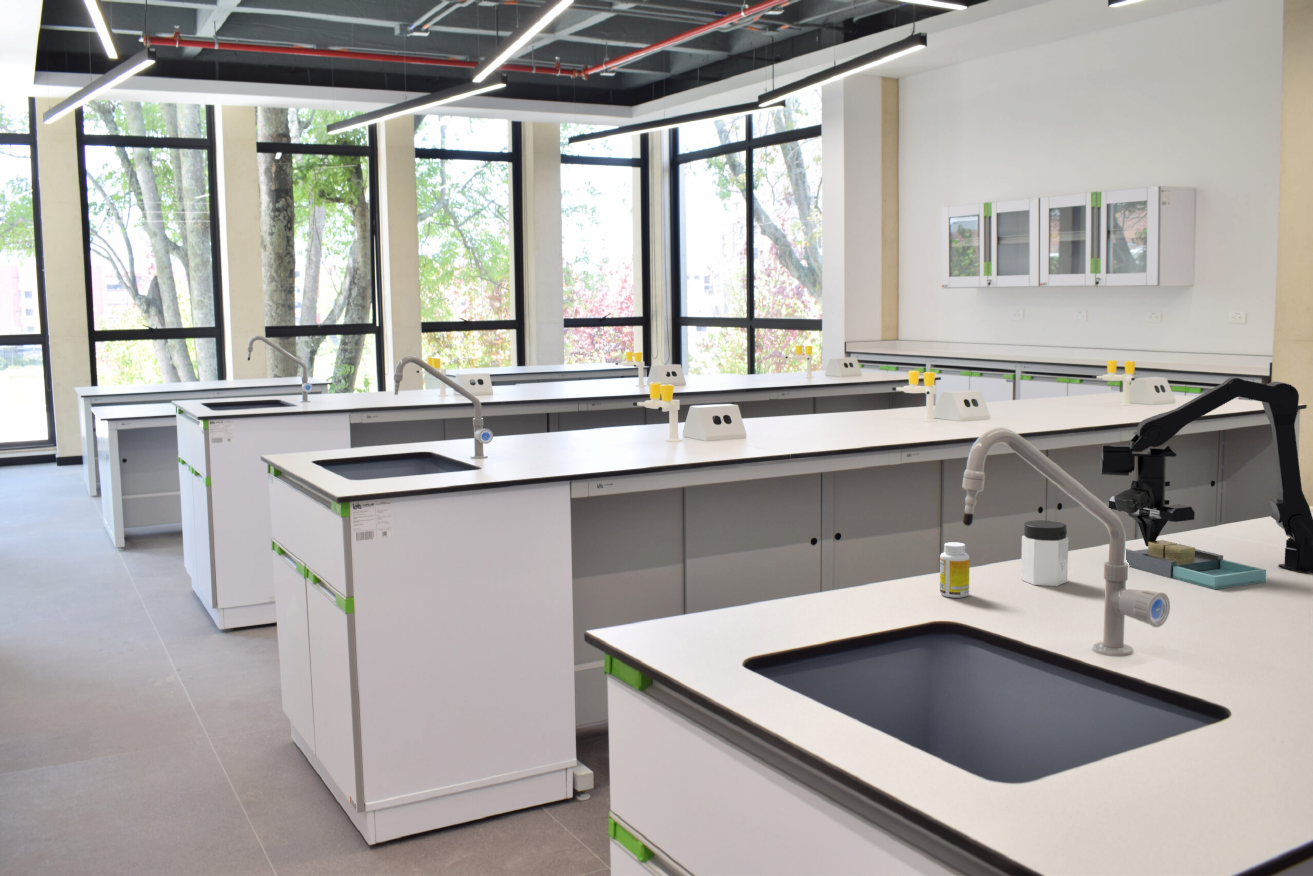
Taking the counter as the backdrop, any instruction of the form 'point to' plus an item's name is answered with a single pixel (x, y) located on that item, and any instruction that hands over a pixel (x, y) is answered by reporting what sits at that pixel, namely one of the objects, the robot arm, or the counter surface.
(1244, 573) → the tray
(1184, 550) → the chip
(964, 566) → the supplement bottle
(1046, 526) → the jar
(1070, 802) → the counter surface
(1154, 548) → the tan square block
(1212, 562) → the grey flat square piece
